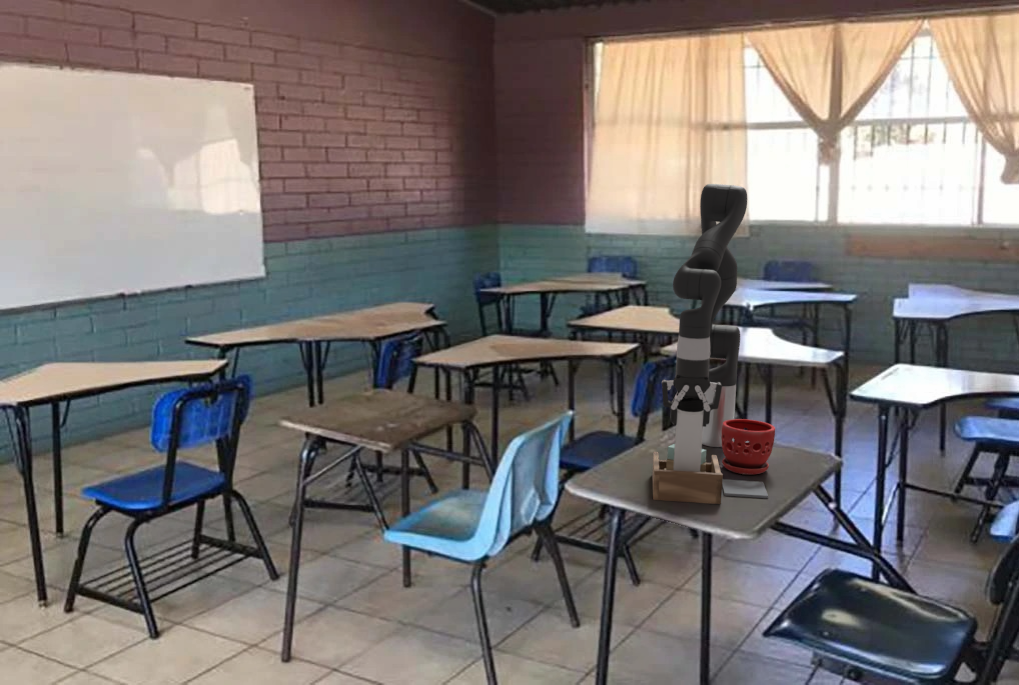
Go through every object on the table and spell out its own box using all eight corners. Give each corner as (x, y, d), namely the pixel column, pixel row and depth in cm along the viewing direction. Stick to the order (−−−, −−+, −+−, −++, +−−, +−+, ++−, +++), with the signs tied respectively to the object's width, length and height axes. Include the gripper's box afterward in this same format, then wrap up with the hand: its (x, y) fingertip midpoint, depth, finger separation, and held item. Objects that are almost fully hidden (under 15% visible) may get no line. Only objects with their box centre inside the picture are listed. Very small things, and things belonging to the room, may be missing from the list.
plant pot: (773, 479, 239) (777, 433, 236) (719, 475, 241) (722, 429, 239) (770, 463, 251) (773, 419, 249) (719, 459, 254) (721, 415, 251)
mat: (721, 481, 236) (721, 479, 236) (762, 484, 235) (763, 481, 235) (724, 495, 227) (724, 493, 226) (768, 498, 225) (768, 495, 225)
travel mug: (705, 476, 228) (710, 394, 224) (690, 483, 223) (695, 399, 219) (682, 469, 232) (687, 389, 228) (667, 476, 227) (672, 394, 223)
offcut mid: (667, 467, 238) (668, 456, 237) (705, 471, 235) (706, 459, 235) (665, 473, 234) (666, 461, 233) (704, 476, 232) (705, 464, 231)
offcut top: (674, 454, 238) (674, 443, 238) (705, 461, 233) (706, 449, 233) (667, 458, 235) (667, 446, 234) (698, 465, 230) (699, 453, 230)
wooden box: (652, 474, 240) (653, 447, 239) (715, 478, 238) (716, 451, 237) (653, 499, 223) (654, 470, 222) (720, 504, 221) (722, 474, 220)
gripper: (723, 353, 224) (719, 422, 228) (661, 350, 226) (658, 419, 230) (726, 360, 217) (721, 431, 221) (661, 357, 219) (658, 428, 222)
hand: (689, 424), depth 225 cm, fingers closed on travel mug, 6 cm apart
